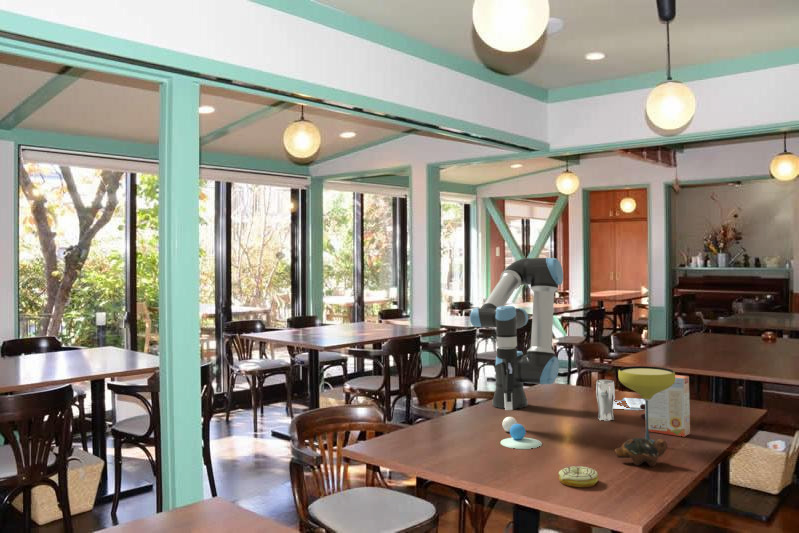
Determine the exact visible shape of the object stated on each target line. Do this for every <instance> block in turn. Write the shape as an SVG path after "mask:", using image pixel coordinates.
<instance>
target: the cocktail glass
mask: <svg viewBox="0 0 799 533" xmlns="http://www.w3.org/2000/svg"><path fill="white" fill-rule="evenodd" d="M617 374H618V381H619V382H620V383H621V384H622V385H623V386H625V387H626V388H628V389H629V390H632V391H633V392H635V393H637V394H638V395H640V396H641V399H644V400H646V421H645V436H644V438H645V439H648V440H649V441H651V442H652V443H653V442H654V440H655V439H652V438H650V433H649V429H648V400H650V399H651V398H652V396H653V395H655V394H656V393H658V392H661V391H663V390H665V389H667V388H669V387H671V386H672V385H673V384H674V383H675V375H676V372H675V370H673V369H671V368H666V367H661V366H660V367H658V366H648V365H647V366H646V365H645V366H643V365H640V366H639V365H637V366H633V365H632V366H624V367H621V368H618V373H617Z"/></svg>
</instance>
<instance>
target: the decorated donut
mask: <svg viewBox="0 0 799 533" xmlns="http://www.w3.org/2000/svg"><path fill="white" fill-rule="evenodd" d="M558 478H559V479H558V480H559V482H560V483H561V484H562V485H565V486H568V487H573V488H581V489H582V487H583V488H590V486H591V487H594V486H595V485H596V484H597V483H598V480H599V475H598V472H597V471H596V470H595V469H593V468H590V467H588V466H577V465H574V466H567V467H565V468H562V469H561V470H559V472H558Z"/></svg>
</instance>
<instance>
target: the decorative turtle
mask: <svg viewBox="0 0 799 533" xmlns="http://www.w3.org/2000/svg"><path fill="white" fill-rule="evenodd" d="M653 440H654V442H653V443H652V442H651V441H649V440H648V439H645V437H634V438H630V439H628V440H626V441H624V442H623V443H622V445H621V446H620V447H617V448H615V450H614V451H615V455H616V457H617V458H618V459H619V458H620V459H625V458H626V459H627V458H629V459H631V460H632V461H633V464H634V465H635V466H636V465H637V467H639V466H640V465H642V464H643V463H645V462H646V464H647V465H649V467H651V466H652V467H651V468H654V467H655V466H656V465H657V461H658V458H660V457H661V456H662V455H664V453H665V452H666V451H667V449H668V443H667V441H666V440H664V439H663V438H656V439H653Z"/></svg>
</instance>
